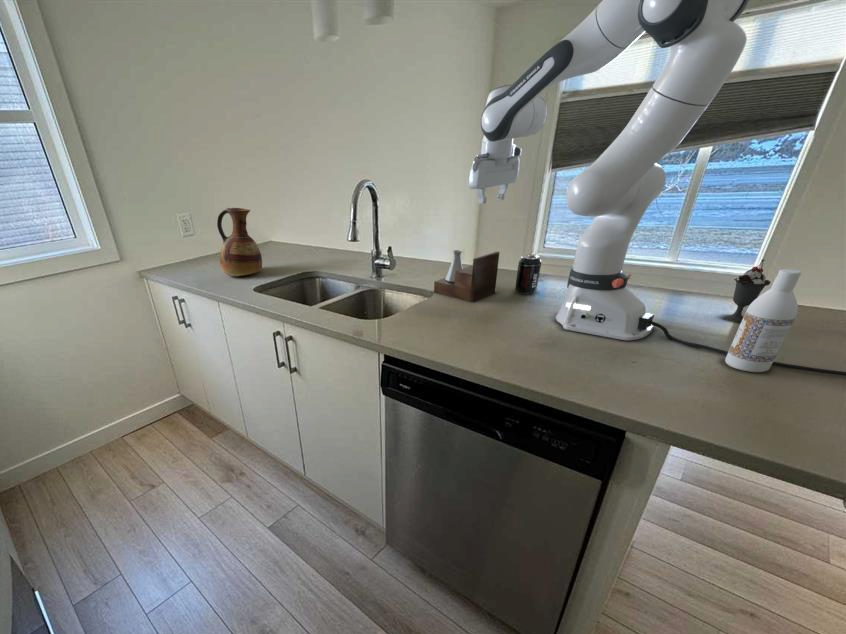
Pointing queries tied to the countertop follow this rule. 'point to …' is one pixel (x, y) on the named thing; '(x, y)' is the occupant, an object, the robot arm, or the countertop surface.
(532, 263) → the beverage can
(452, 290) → the spice rack
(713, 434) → the countertop surface
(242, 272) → the ceramic pitcher
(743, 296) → the sundae
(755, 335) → the bath foam
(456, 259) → the flask
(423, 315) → the countertop surface
